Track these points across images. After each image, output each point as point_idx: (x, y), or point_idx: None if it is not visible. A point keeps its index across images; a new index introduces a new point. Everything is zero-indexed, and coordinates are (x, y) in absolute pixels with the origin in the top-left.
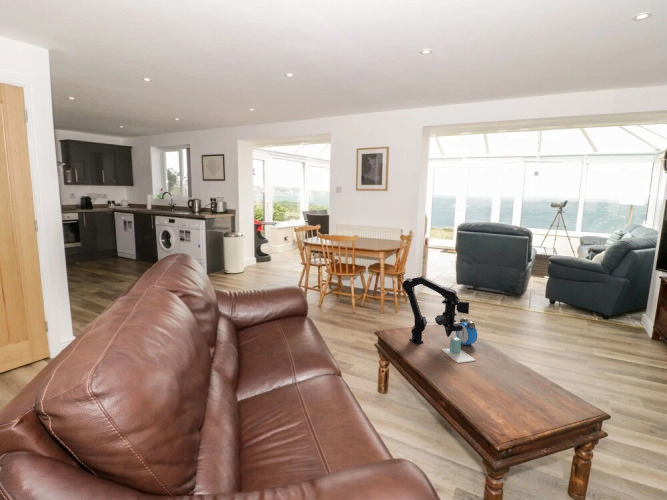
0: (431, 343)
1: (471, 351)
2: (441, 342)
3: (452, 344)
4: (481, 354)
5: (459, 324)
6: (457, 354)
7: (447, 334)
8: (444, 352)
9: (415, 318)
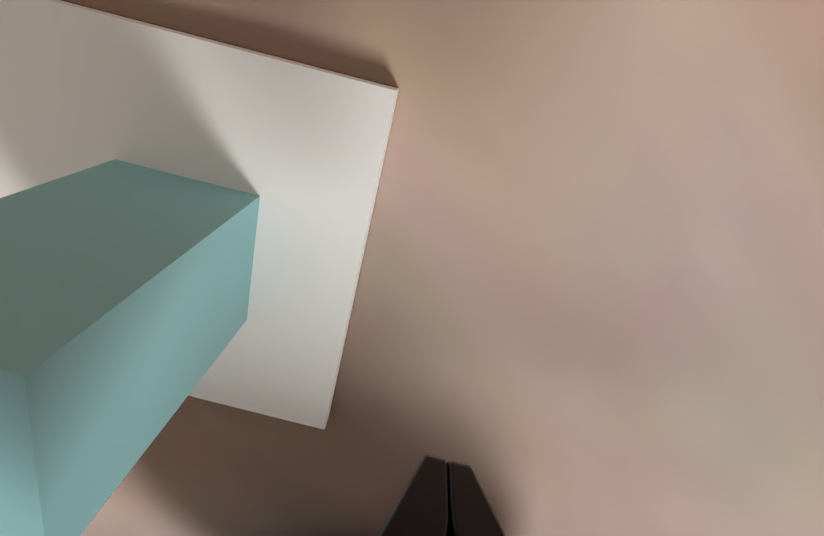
0: (777, 147)
1: (170, 483)
2: (654, 362)
3: (58, 243)
4: None
5: None
6: None
7: (410, 515)
8: (278, 57)
9: None
